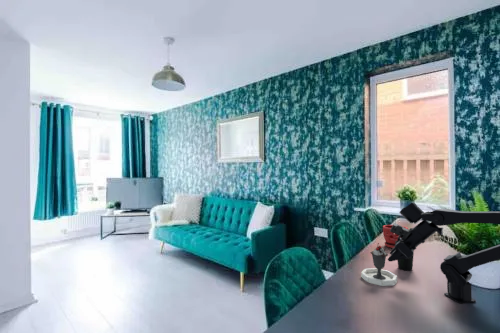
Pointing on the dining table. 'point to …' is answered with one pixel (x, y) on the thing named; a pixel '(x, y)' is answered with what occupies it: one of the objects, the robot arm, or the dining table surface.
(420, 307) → the dining table surface
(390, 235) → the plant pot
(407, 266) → the cup
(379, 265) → the sundae
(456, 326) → the dining table surface
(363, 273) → the dish
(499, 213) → the robot arm
